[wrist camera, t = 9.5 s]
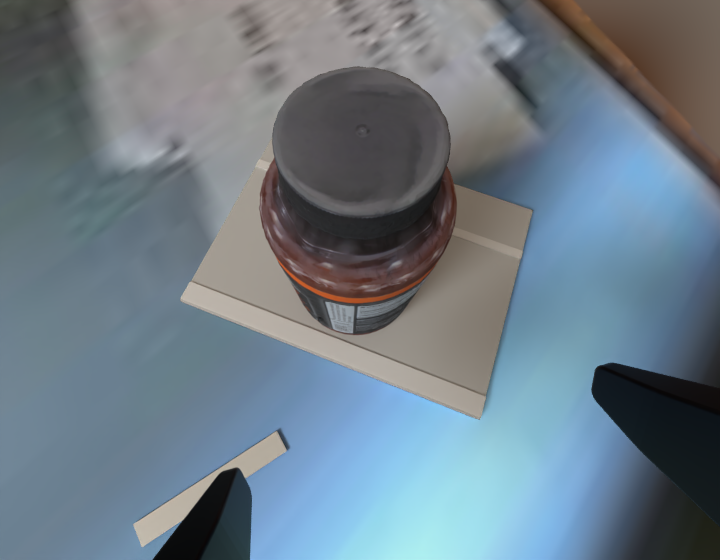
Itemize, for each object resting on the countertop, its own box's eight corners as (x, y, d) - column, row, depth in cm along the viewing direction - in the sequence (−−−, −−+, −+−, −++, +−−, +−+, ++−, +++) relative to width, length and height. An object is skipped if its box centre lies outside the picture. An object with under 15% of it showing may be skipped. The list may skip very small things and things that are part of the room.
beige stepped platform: (529, 213, 20) (533, 209, 20) (476, 419, 17) (480, 419, 16) (280, 129, 22) (279, 123, 21) (183, 302, 18) (179, 300, 18)
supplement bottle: (288, 245, 19) (204, 51, 8) (392, 220, 19) (444, 10, 9) (312, 352, 17) (248, 288, 6) (426, 321, 18) (543, 215, 7)
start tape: (287, 450, 16) (286, 450, 16) (143, 546, 15) (141, 547, 15) (277, 430, 16) (276, 431, 16) (134, 523, 15) (133, 524, 15)
